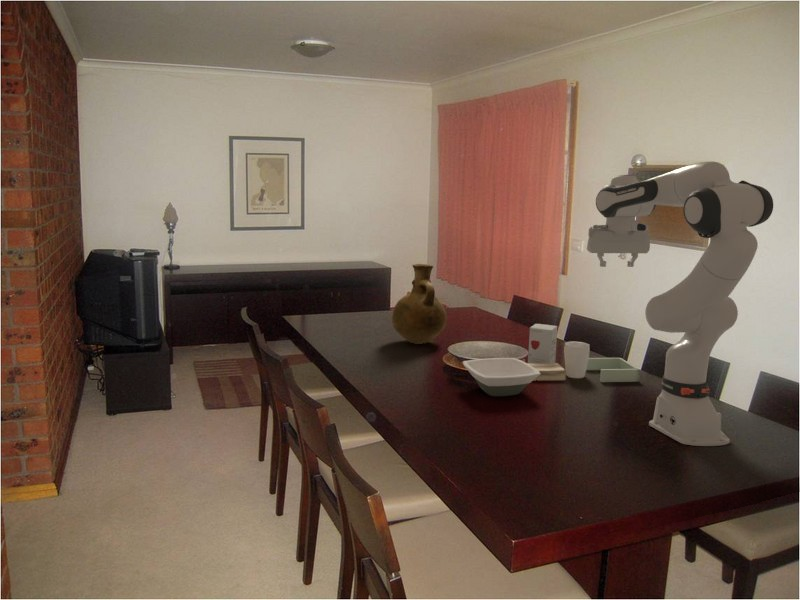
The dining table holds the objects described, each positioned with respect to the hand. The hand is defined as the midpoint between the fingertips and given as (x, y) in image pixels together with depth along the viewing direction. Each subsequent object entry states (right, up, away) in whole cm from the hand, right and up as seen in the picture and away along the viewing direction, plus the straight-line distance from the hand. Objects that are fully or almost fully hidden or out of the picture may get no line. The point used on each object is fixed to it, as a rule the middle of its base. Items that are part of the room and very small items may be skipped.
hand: (616, 266), depth 210 cm
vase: (-64, -31, +68) cm, 98 cm away
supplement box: (-17, -36, +38) cm, 55 cm away
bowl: (-39, -42, +4) cm, 57 cm away
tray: (+6, -39, +23) cm, 46 cm away
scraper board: (-19, -40, +21) cm, 49 cm away
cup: (-8, -39, +22) cm, 46 cm away
